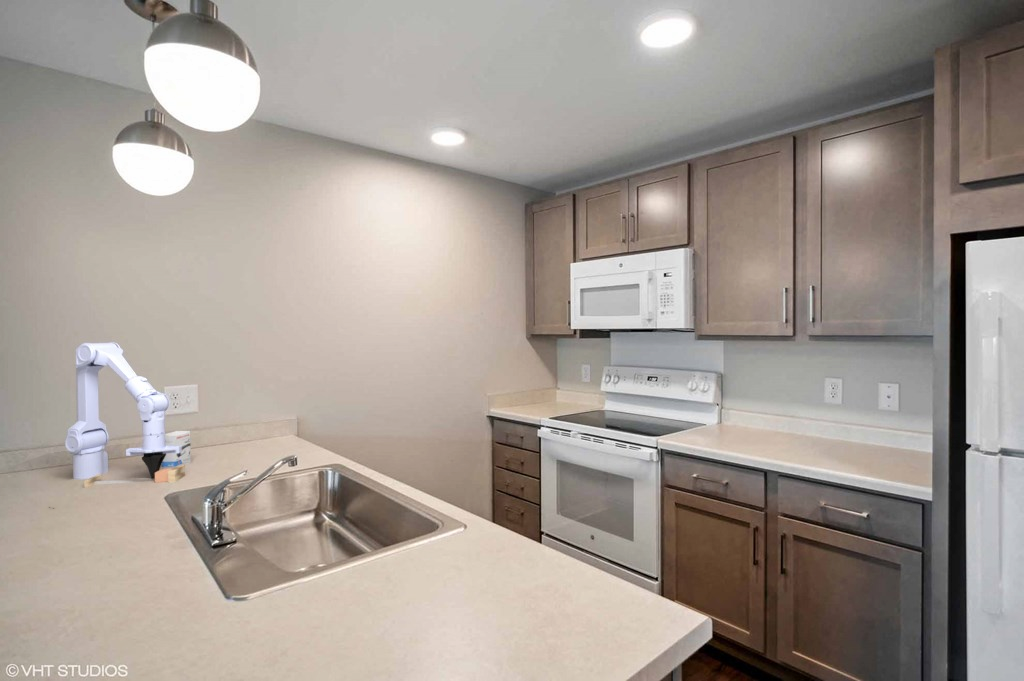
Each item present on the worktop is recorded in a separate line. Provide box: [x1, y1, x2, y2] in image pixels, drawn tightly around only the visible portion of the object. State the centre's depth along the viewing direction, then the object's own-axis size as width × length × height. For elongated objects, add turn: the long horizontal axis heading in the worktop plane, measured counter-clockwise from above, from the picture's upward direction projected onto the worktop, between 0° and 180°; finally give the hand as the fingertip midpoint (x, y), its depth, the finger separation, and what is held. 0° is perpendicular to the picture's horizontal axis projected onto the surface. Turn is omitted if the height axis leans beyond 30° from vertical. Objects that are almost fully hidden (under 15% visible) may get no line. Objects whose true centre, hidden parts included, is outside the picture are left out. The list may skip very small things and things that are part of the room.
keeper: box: [154, 467, 174, 483], centre depth 158 cm, size 5×4×3 cm
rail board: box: [83, 464, 186, 489], centre depth 156 cm, size 7×24×4 cm, turn 102°
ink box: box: [161, 430, 192, 468], centre depth 177 cm, size 8×5×12 cm, turn 179°
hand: (154, 477), depth 157 cm, fingers closed
